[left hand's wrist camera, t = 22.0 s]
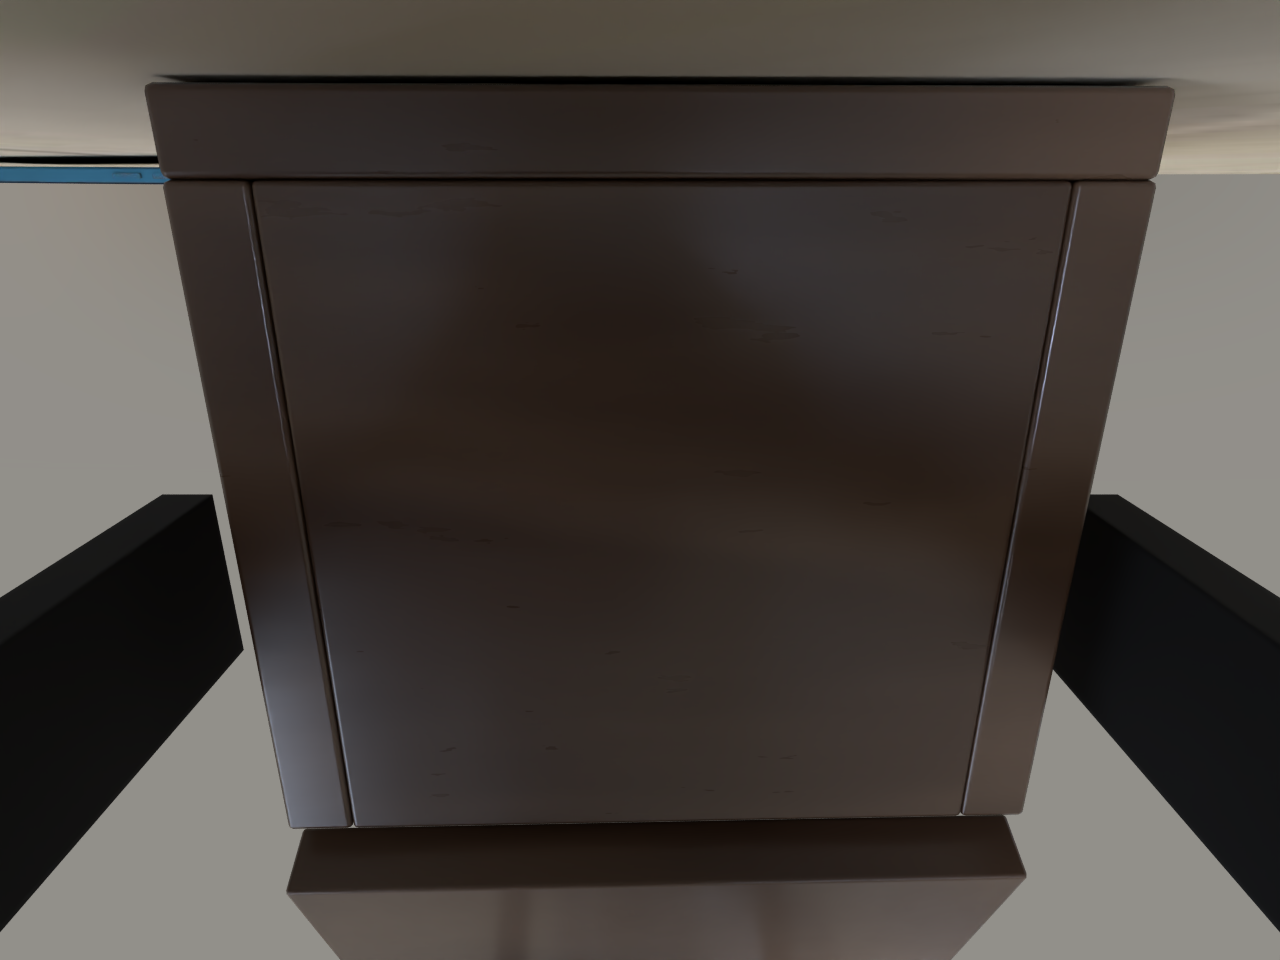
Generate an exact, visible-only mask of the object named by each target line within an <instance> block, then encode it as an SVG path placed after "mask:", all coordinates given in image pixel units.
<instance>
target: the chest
mask: <svg viewBox="0 0 1280 960" xmlns="http://www.w3.org/2000/svg"><path fill="white" fill-rule="evenodd" d="M145 95H146V100H147V106H148V111H149V116H150V121H151V126H152V131H153V136H154V141H155V146H156V151H157V156H158V161H159V166H160V171H161V173H162V175H163V176H164V177H166V178H168V179H171V180H168V181H166V182H165V183H164V186H163V189H164V194H165V199H166V204H167V209H168V214H169V219H170V224H171V229H172V235H173V240H174V245H175V250H176V255H177V260H178V265H179V270H180V275H181V280H182V285H183V290H184V295H185V300H186V306H187V311H188V316H189V321H190V326H191V331H192V336H193V341H194V346H195V351H196V356H197V361H198V366H199V371H200V377H201V382H202V387H203V392H204V397H205V402H206V407H207V412H208V417H209V422H210V427H211V432H212V437H213V442H214V448H215V452H216V458H217V463H218V468H219V473H220V478H221V483H222V488H223V493H224V498H225V503H226V508H227V514H228V519H229V524H230V529H231V534H232V539H233V544H234V549H235V554H236V559H237V564H238V569H239V574H240V579H241V584H242V590H243V595H244V600H245V605H246V610H247V615H248V620H249V625H250V630H251V635H252V640H253V645H254V650H255V655H256V661H257V666H258V671H259V676H260V681H261V686H262V691H263V696H264V701H265V706H266V711H267V716H268V721H269V727H270V732H271V737H272V742H273V747H274V752H275V757H276V762H277V767H278V772H279V777H280V782H281V787H282V792H283V798H284V803H285V807H286V813H287V818H288V823H289V826H290V827H291V828H293V829H300V828H348V827H351V826H352V825H353V823H354V825H355V826H356V827H408V826H458V825H508V824H559V823H609V822H659V821H709V820H760V819H810V818H860V817H910V816H956V815H958V814H959V813H960V812H961V813H962V814H963V815H1010V814H1020V813H1021V812H1022V811H1023V806H1024V801H1025V797H1026V792H1027V787H1028V783H1029V778H1030V773H1031V769H1032V764H1033V759H1034V755H1035V750H1036V745H1037V741H1038V736H1039V731H1040V727H1041V722H1042V717H1043V713H1044V708H1045V703H1046V698H1047V694H1048V689H1049V685H1050V680H1051V675H1052V671H1053V666H1054V661H1055V657H1056V652H1057V647H1058V643H1059V638H1060V633H1061V629H1062V624H1063V619H1064V614H1065V610H1066V605H1067V600H1068V596H1069V591H1070V586H1071V582H1072V577H1073V572H1074V568H1075V563H1076V558H1077V554H1078V549H1079V544H1080V540H1081V535H1082V530H1083V526H1084V521H1085V516H1086V512H1087V507H1088V502H1089V498H1090V493H1091V488H1092V484H1093V479H1094V474H1095V469H1096V465H1097V460H1098V455H1099V451H1100V446H1101V441H1102V437H1103V432H1104V427H1105V423H1106V418H1107V413H1108V409H1109V404H1110V399H1111V395H1112V390H1113V385H1114V381H1115V376H1116V371H1117V367H1118V362H1119V357H1120V353H1121V348H1122V343H1123V339H1124V334H1125V329H1126V325H1127V320H1128V315H1129V311H1130V306H1131V301H1132V297H1133V292H1134V287H1135V283H1136V278H1137V273H1138V269H1139V264H1140V259H1141V254H1142V250H1143V245H1144V240H1145V236H1146V231H1147V226H1148V222H1149V217H1150V212H1151V208H1152V203H1153V198H1154V194H1155V189H1156V185H1155V183H1154V182H1152V181H1150V180H1149V179H1152V178H1154V177H1156V175H1157V173H1158V172H1159V167H1160V163H1161V158H1162V153H1163V149H1164V144H1165V139H1166V135H1167V130H1168V125H1169V121H1170V116H1171V111H1172V107H1173V102H1174V97H1175V91H1174V89H1172V88H1170V87H1168V86H1024V85H751V84H479V83H206V82H152V83H150V84H148V85H146V86H145Z"/></svg>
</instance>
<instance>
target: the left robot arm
mask: <svg viewBox="0 0 1280 960" xmlns="http://www.w3.org/2000/svg"><path fill="white" fill-rule="evenodd" d="M243 650H244V649H243V644H242V639H241V634H240V629H239V624H238V619H237V614H236V610H235V604H234V600H233V595H232V590H231V585H230V580H229V575H228V570H227V565H226V560H225V555H224V550H223V545H222V540H221V535H220V530H219V525H218V520H217V515H216V510H215V505H214V500H213V495H161V496H159V497H158V498H156V499H155V500H153V501H151V502H150V503H148V504H147V505H145V506H144V507H142V508H140V509H139V510H137V511H136V512H134V513H133V514H131V515H129V516H128V517H126V518H125V519H123V520H122V521H120V522H119V523H117V524H115V525H114V526H112V527H111V528H109V529H107V530H106V531H104V532H103V533H101V534H100V535H98V536H96V537H95V538H93V539H92V540H90V541H89V542H87V543H85V544H84V545H82V546H81V547H79V548H78V549H76V550H74V551H73V552H71V553H70V554H68V555H67V556H65V557H63V558H62V559H60V560H59V561H57V562H56V563H54V564H52V565H51V566H49V567H48V568H46V569H45V570H43V571H41V572H40V573H38V574H37V575H35V576H34V577H32V578H30V579H29V580H27V581H26V582H24V583H23V584H21V585H19V586H18V587H16V588H15V589H13V590H12V591H10V592H8V593H7V594H5V595H4V596H2V597H0V932H1V930H2V929H3V928H4V927H5V926H6V925H7V924H8V922H9V921H10V920H11V919H12V918H13V916H14V915H15V914H16V913H17V912H18V911H19V910H20V908H21V907H22V906H23V905H24V904H25V903H26V901H27V900H28V899H29V898H30V897H31V896H32V895H33V893H34V892H35V891H36V890H37V889H38V888H39V886H40V885H41V884H42V883H43V882H44V881H45V879H46V878H47V877H48V876H49V875H50V874H51V873H52V871H53V870H54V869H55V868H56V867H57V866H58V864H59V863H60V862H61V861H62V860H63V859H64V857H65V856H66V855H67V854H68V853H69V852H70V851H71V849H72V848H73V847H74V846H75V845H76V844H77V842H78V841H79V840H80V839H81V838H82V837H83V835H84V834H85V833H86V832H87V831H88V830H89V828H90V827H91V826H92V825H93V824H94V823H95V821H96V820H97V819H98V818H99V817H100V816H101V815H102V813H103V812H104V811H105V810H106V809H107V808H108V807H109V805H110V804H111V803H112V802H113V801H114V800H115V798H116V797H117V796H118V795H119V794H120V793H121V791H122V790H123V789H124V788H125V787H126V786H127V784H128V783H129V782H130V781H131V780H132V779H133V778H134V776H135V775H136V774H137V773H138V772H139V771H140V769H141V768H142V767H143V766H144V765H145V764H146V762H147V761H148V760H149V759H150V758H151V757H152V755H153V754H154V753H155V752H156V751H157V750H158V749H159V747H160V746H161V745H162V744H163V743H164V742H165V740H166V739H167V738H168V737H169V736H170V735H171V734H172V732H173V731H174V730H175V729H176V728H177V726H178V725H179V724H180V723H181V722H182V721H183V720H184V718H185V717H186V716H187V715H188V714H189V713H190V711H191V710H192V709H193V708H194V707H195V706H196V705H197V703H198V702H199V701H200V700H201V699H202V698H203V696H204V695H205V694H206V693H207V692H208V691H209V689H210V688H211V687H212V686H213V685H214V684H215V682H216V681H217V680H218V679H219V678H220V677H221V676H222V674H223V673H224V672H225V671H226V670H227V669H228V667H229V666H230V665H231V664H232V663H233V662H234V661H235V659H236V658H237V657H238V656H239V655H240V654H241V652H242V651H243ZM1053 670H1054V671H1055V672H1056V673H1057V674H1058V676H1059V677H1060V678H1061V679H1062V680H1063V681H1064V683H1065V684H1066V685H1067V686H1068V687H1069V688H1070V689H1071V691H1072V692H1073V693H1074V694H1075V695H1076V696H1077V698H1078V699H1079V700H1080V701H1081V702H1082V703H1083V705H1084V706H1085V707H1086V708H1087V709H1088V710H1089V711H1090V713H1091V714H1092V715H1093V716H1094V717H1095V718H1096V720H1097V721H1098V722H1099V723H1100V724H1101V725H1102V727H1103V728H1104V729H1105V730H1106V731H1107V732H1108V734H1109V735H1110V736H1111V737H1112V738H1113V739H1114V740H1115V742H1116V743H1117V744H1118V745H1119V746H1120V747H1121V749H1122V750H1123V751H1124V752H1125V753H1126V754H1127V756H1128V757H1129V758H1130V759H1131V760H1132V761H1133V762H1134V764H1135V765H1136V766H1137V767H1138V768H1139V769H1140V771H1141V772H1142V773H1143V774H1144V775H1145V776H1146V778H1147V779H1148V780H1149V781H1150V782H1151V783H1152V784H1153V786H1154V787H1155V788H1156V789H1157V790H1158V791H1159V793H1160V794H1161V795H1162V796H1163V797H1164V798H1165V800H1166V801H1167V802H1168V803H1169V804H1170V805H1171V807H1172V808H1173V809H1174V810H1175V811H1176V812H1177V813H1178V815H1179V816H1180V817H1181V818H1182V819H1183V820H1184V822H1185V823H1186V824H1187V825H1188V826H1189V827H1190V828H1191V830H1192V831H1193V832H1194V833H1195V834H1196V835H1197V837H1198V838H1199V839H1200V840H1201V841H1202V842H1203V844H1204V845H1205V846H1206V847H1207V848H1208V849H1209V851H1210V852H1211V853H1212V854H1213V855H1214V856H1215V857H1216V859H1217V860H1218V861H1219V862H1220V863H1221V864H1222V866H1223V867H1224V868H1225V869H1226V870H1227V871H1228V872H1229V874H1230V875H1231V876H1232V877H1233V878H1234V879H1235V881H1236V882H1237V883H1238V884H1239V885H1240V886H1241V888H1242V889H1243V890H1244V891H1245V892H1246V893H1247V895H1248V896H1249V897H1250V898H1251V899H1252V900H1253V902H1254V903H1255V904H1256V905H1257V906H1258V907H1259V908H1260V910H1261V911H1262V912H1263V913H1264V914H1265V915H1266V917H1267V918H1268V919H1269V920H1270V921H1271V922H1272V924H1273V925H1274V926H1275V927H1276V928H1277V929H1278V930H1279V932H1280V598H1279V597H1278V596H1276V595H1275V594H1273V593H1272V592H1270V591H1268V590H1267V589H1265V588H1264V587H1262V586H1261V585H1259V584H1257V583H1256V582H1254V581H1253V580H1251V579H1250V578H1248V577H1246V576H1245V575H1243V574H1242V573H1240V572H1239V571H1237V570H1235V569H1234V568H1232V567H1231V566H1229V565H1228V564H1226V563H1224V562H1223V561H1221V560H1220V559H1218V558H1217V557H1215V556H1213V555H1212V554H1210V553H1209V552H1207V551H1206V550H1204V549H1202V548H1201V547H1199V546H1198V545H1196V544H1195V543H1193V542H1191V541H1190V540H1188V539H1187V538H1185V537H1184V536H1182V535H1180V534H1179V533H1177V532H1176V531H1174V530H1173V529H1171V528H1169V527H1168V526H1166V525H1165V524H1163V523H1162V522H1160V521H1158V520H1157V519H1155V518H1154V517H1152V516H1151V515H1149V514H1147V513H1146V512H1144V511H1143V510H1141V509H1140V508H1138V507H1136V506H1135V505H1133V504H1132V503H1130V502H1129V501H1127V500H1125V499H1124V498H1122V497H1121V496H1119V495H1090V498H1089V502H1088V507H1087V512H1086V516H1085V521H1084V526H1083V530H1082V535H1081V540H1080V544H1079V549H1078V554H1077V558H1076V563H1075V568H1074V572H1073V577H1072V582H1071V586H1070V591H1069V596H1068V600H1067V605H1066V610H1065V614H1064V619H1063V624H1062V629H1061V633H1060V638H1059V643H1058V647H1057V652H1056V657H1055V661H1054V666H1053Z"/></svg>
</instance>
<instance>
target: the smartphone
mask: <svg viewBox="0 0 1280 960" xmlns="http://www.w3.org/2000/svg"><path fill="white" fill-rule="evenodd" d="M168 180H171V179H168V178H166V177H164V176H163V175H162V173H161V171H160V167H0V183H74V184H75V183H76V184H164V183H165V182H166V181H168Z"/></svg>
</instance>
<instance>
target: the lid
mask: <svg viewBox="0 0 1280 960" xmlns="http://www.w3.org/2000/svg"><path fill="white" fill-rule="evenodd" d="M1025 878H1026V871H1025V868H1024V866H1023V863H1022V860H1021V857H1020V855H1019V852H1018V849H1017V846H1016V844H1015V841H1014V838H1013V835H1012V833H1011V830H1010V827H1009V824H1008V822H1007V819H1006V817H1005V816H1004V815H975V816H924V817H874V818H824V819H774V820H723V821H673V822H623V823H573V824H523V825H472V826H422V827H372V828H322V829H305V830H304V831H303V833H302V837H301V840H300V844H299V848H298V851H297V855H296V858H295V862H294V865H293V869H292V872H291V876H290V879H289V883H288V886H287V890H286V891H287V895H288V896H289V897H290V899H291V900H292V901H293V902H294V903H295V905H296V906H297V907H298V908H299V910H300V911H301V912H302V913H303V914H304V916H305V917H306V918H307V919H308V921H309V922H310V923H311V924H312V925H313V927H314V928H315V929H316V930H317V932H318V933H319V934H320V935H321V936H322V938H323V939H324V940H325V941H326V943H327V944H328V945H329V946H330V948H331V949H332V950H333V951H334V952H335V954H336V955H337V956H338V957H339V959H340V960H951V959H952V958H953V957H954V956H955V955H956V954H957V953H958V951H959V950H960V949H961V948H962V947H963V946H964V945H965V944H966V943H967V942H968V941H969V939H970V938H971V937H972V936H973V935H974V934H975V933H976V932H977V931H978V930H979V929H980V927H981V926H982V925H983V924H984V923H985V922H986V921H987V920H988V919H989V918H990V917H991V915H992V914H993V913H994V912H995V911H996V910H997V909H998V908H999V907H1000V906H1001V905H1002V904H1003V902H1004V901H1005V900H1006V899H1007V898H1008V897H1009V896H1010V895H1011V894H1012V893H1013V892H1014V890H1015V889H1016V888H1017V887H1018V886H1019V885H1020V884H1021V883H1022V882H1023V881H1024V880H1025Z"/></svg>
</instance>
